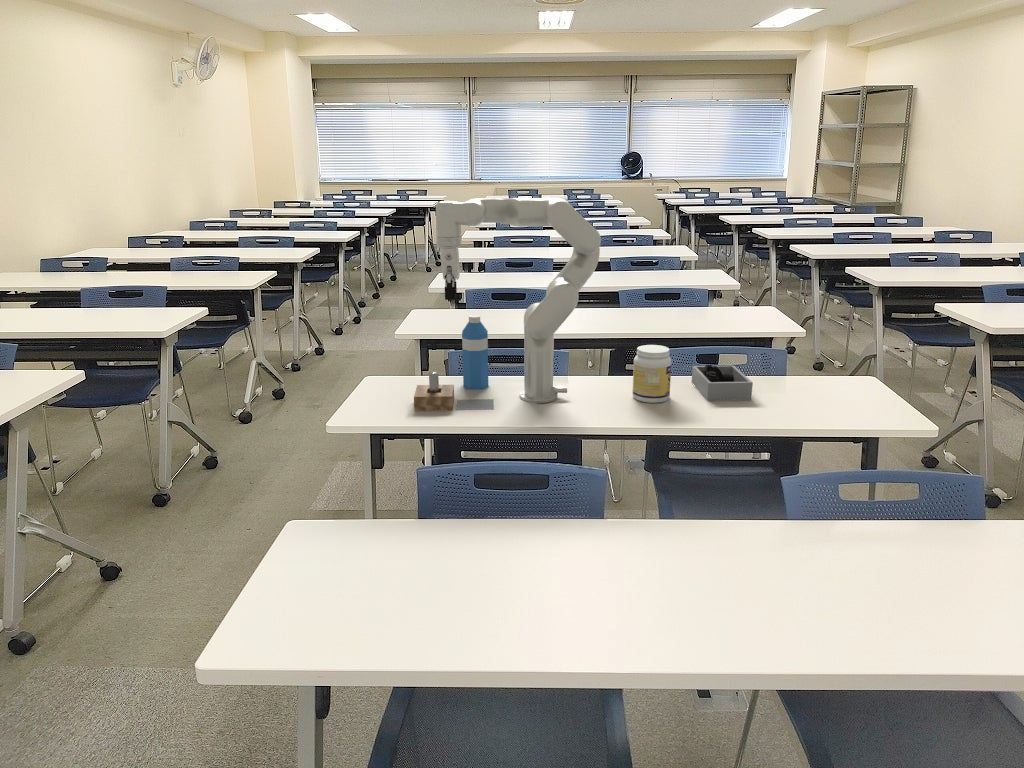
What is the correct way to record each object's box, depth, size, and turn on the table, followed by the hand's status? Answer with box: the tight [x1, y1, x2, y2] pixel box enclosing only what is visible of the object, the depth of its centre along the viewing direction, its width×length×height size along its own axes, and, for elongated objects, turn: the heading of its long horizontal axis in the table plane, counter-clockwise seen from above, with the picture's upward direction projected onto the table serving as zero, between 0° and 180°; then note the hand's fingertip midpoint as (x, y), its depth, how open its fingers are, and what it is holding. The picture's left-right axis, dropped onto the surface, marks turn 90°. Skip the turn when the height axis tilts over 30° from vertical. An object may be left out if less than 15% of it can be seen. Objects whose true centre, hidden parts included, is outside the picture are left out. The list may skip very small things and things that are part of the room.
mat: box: [455, 398, 495, 411], centre depth 239 cm, size 12×10×1 cm
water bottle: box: [461, 314, 489, 390], centre depth 254 cm, size 9×9×25 cm
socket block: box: [413, 384, 455, 412], centre depth 238 cm, size 12×12×5 cm
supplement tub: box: [632, 344, 672, 404], centre depth 242 cm, size 12×12×17 cm
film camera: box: [703, 364, 734, 382], centre depth 249 cm, size 15×10×9 cm, turn 174°
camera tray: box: [691, 365, 754, 402], centre depth 250 cm, size 14×20×6 cm
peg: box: [428, 370, 440, 393], centre depth 237 cm, size 3×3×11 cm
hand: (450, 296), depth 234 cm, fingers open, 9 cm apart
